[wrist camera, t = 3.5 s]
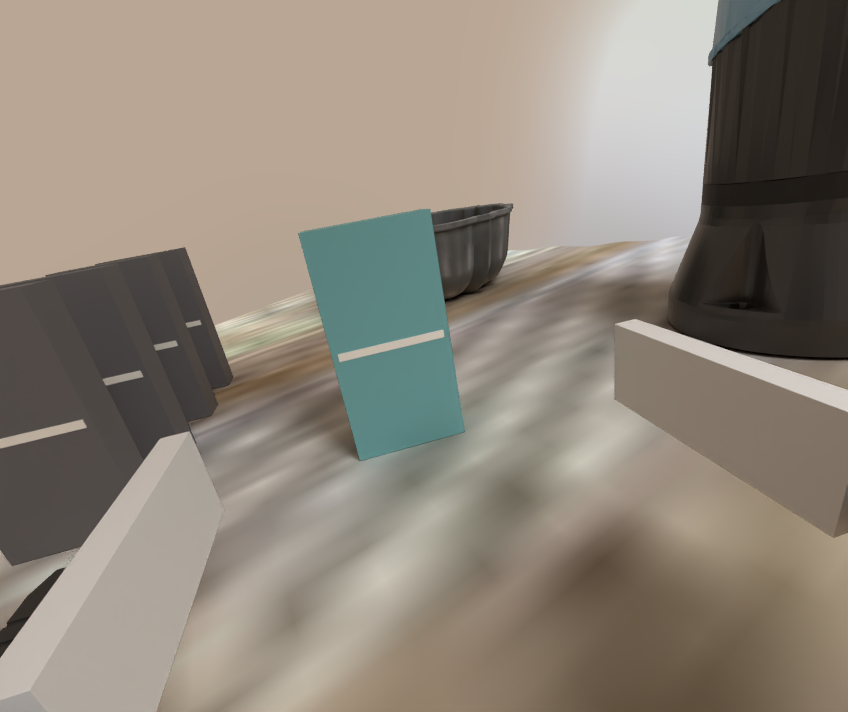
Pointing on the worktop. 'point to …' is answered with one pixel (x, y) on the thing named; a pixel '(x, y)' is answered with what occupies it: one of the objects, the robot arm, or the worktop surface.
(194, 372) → the black tile
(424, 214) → the teal tile
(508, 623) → the worktop surface
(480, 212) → the bundt pan
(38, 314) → the black tile
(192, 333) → the black tile
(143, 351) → the black tile
